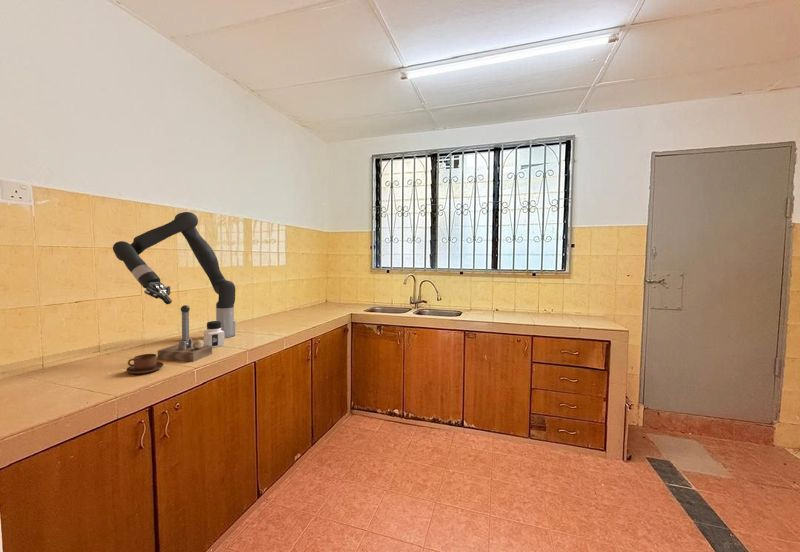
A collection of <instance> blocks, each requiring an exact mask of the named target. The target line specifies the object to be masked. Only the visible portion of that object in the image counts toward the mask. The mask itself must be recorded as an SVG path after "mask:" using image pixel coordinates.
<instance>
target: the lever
mask: <svg viewBox="0 0 800 552" xmlns="http://www.w3.org/2000/svg"><path fill="white" fill-rule="evenodd" d="M190 310H191V309H190V306H189V305H186V304H185V305H184V304H183V305H181V307H180V312H181V341H186V348H187V347H189V346H190V343H189V339H190V315H189V314H190Z"/></svg>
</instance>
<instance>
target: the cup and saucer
mask: <svg viewBox="0 0 800 552" xmlns="http://www.w3.org/2000/svg"><path fill="white" fill-rule="evenodd" d="M131 361H133V364H132V363H131ZM127 365H128V367H127V368H126V372H128V373H130V374H134V375H135V374H136V375H137V374H138V375H139V374H148V373H152V372H155V371H158V370H160V369H162V368H163V367H164V363H163V362H162V361H161V362H160V361H157V354H155V353H144V354H139V355H135V356H134V357H133V358H130V359H128V361H127Z"/></svg>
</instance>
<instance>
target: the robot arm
mask: <svg viewBox="0 0 800 552" xmlns="http://www.w3.org/2000/svg"><path fill="white" fill-rule="evenodd" d="M198 218H199V217H198V216H197V215H196V214H195V213H193V212H190V211H184V212H178V213H177V214H175V217H174V219H173V220H171V221H169V222H167V223H166V224H163V225H160V226H157V227H155V228H152V229H150V230H148V231H145V232H144V233H141V234H139V235H137V236H135V237H133V241H132V243H129V242H127V241H124V240H123V241H122V240H121V241H120V240H119V241H116V242H115V243H113V245H112V252H113V253H114V256H115V257H116V259H118V260H119V261H120V262H123V263H124V265H125V267H126V268H127V270H128V271H129V272H130V273H131V274H132V275H133V278H134V279H135V280H136V281H137V282H138V283H139V284H140V285H141V286H142V288H144V289H145V290H144V291H143V293H144V294H146V295H148V296H150V297H153V298H155V300H156V299H159V300H162V302H164V304H166V305H171V304H172V302H173V300H172V299H171V298H170V297H169V296H170V295H171V286H170V285H167V286H166V285H165V284H164V283H162V282H161V278H160V277H159V275H158V274H157V272H155V271H154V270H153V269H152V267H150V266H149V265H148V264H147V263H146V262H145V261H144V260H143V259H142V258H141V257H140V255H141V254H142V253H143V252H144V251H145V250H147V249H149V248H151V247H153V246H156V245H157V244H159V243H160V242H163V241H164V240H167V239H168V238H170V237H172V236H175V235H176V234H179V233H181V234H182V236H183V237H184V238H185V240H186V241H187V243H188V245H189V247H190V249H191V251H192V253H193V255H194V256H195V259H196V260H197V262H198V263H199V264H200V267H201V268H202V270H203V271H204V273H205V274H206V276H207V277H208V280H209V281H210V284H211V286H212V288H213V291H214V293H216V294H217V295H218V301H217V302H216V304H215V316H216V317H215V319H216V320H215V321H220V322H221V329H220V330H222V331H224V339H225V338H232V337H234V336H236V319H235V311H234V310H235V306H234V305H235V302H236V285H235V283H234V282H233V281H231V280H227V279H226V278H225V276H224V275H223V273H222V272H221V269H220V265H219V261H218V257H217V255H216V253H215V252H214V250H213V248H212V247H211V245H210V244H209V242H207V241H206V240H205V239H204V238H203V237H202V235H201V234H200V233H199V231H198V229H197V226H198V223H199V219H198Z"/></svg>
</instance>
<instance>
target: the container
mask: <svg viewBox="0 0 800 552" xmlns="http://www.w3.org/2000/svg"><path fill="white" fill-rule="evenodd" d="M220 329H221V322H220V321H216V320H210V321H208V322H206V330H203V343H204V345H207V346H212V349H213V348H216V347H217V348H218V347H224V346H225V338H224V331H222V330H220Z"/></svg>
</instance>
